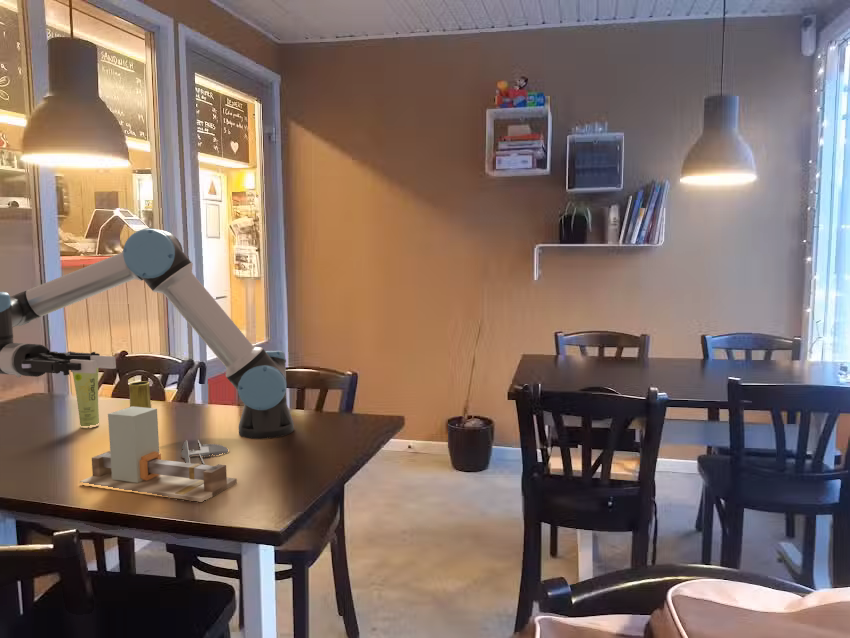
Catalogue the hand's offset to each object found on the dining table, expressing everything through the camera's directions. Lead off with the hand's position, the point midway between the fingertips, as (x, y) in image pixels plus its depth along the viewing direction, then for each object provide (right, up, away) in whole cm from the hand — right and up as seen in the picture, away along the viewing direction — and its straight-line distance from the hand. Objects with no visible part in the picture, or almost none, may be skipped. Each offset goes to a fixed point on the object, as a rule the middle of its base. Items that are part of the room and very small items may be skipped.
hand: (104, 364), depth 146 cm
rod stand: (+13, -26, -1) cm, 29 cm away
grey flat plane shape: (+14, -25, +20) cm, 35 cm away
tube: (-27, -22, +46) cm, 57 cm away
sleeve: (+8, -25, 0) cm, 26 cm away
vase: (-9, -22, +39) cm, 46 cm away
